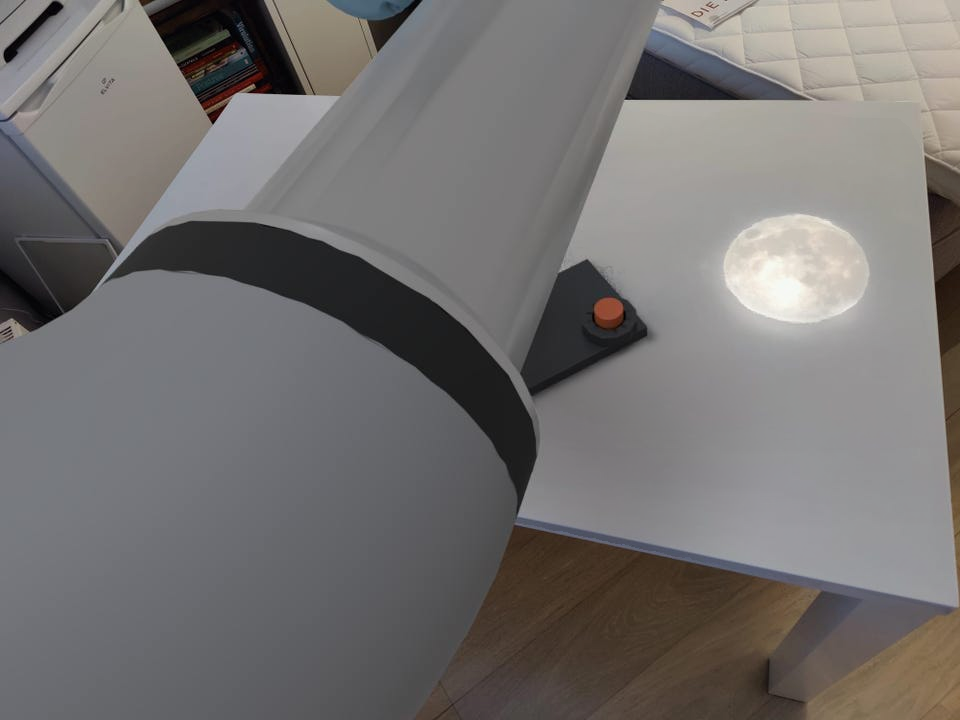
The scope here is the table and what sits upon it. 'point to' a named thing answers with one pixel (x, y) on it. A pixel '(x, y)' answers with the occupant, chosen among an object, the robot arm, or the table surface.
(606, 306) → the button
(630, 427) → the table surface
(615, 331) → the dark grey button plate
